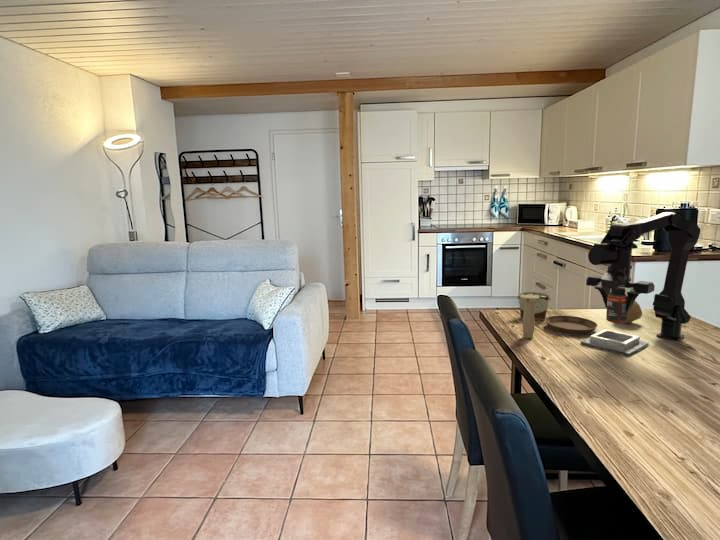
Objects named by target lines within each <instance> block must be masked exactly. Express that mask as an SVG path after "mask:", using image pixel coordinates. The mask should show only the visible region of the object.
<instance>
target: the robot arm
mask: <svg viewBox="0 0 720 540" xmlns="http://www.w3.org/2000/svg"><path fill="white" fill-rule="evenodd" d="M660 229H662V230H663V231H664V232H666V233H667V241H668V244H669V247H670V248H671V249H670V252H669V253H670V255H669V260H668V264H667V267H666V268H667V269H666V273H665V279H664V280H665V281H664V284H663V289H662V291H660V292H659V293H655V294H654V296H653V303H652V306H653V311H654V314H655V318H656V319H657V318H659V319H661V325H660V332H659V333H657V334H656V337H658V338H663V339H668V340H672V341H676V342H677V341H680V340H682V339H683V338H685V335H683V334H682V325H683V324H685V325H687V323H690V321H691V316H692V315H690V314H689V312H688V311H687V310H686V309H685V304H686V302H685V298H684V297H683V296H684V295H683V294H682V290H683V284H684V279H685V274H686V269H687V265H688V259H689V253H690V250H692V248H694V247H695V246H696V244H697V243H698V241H699V238H700V236H701V228H700V227H699V225H698V224H697V223H694V222H693V221H692V220H689V219H687V218H684V217H683V216H681V215H680V214H679V213H676V212H672V211H671V212H670V211H669V212H668V211H665V212H664V211H663V212H661V213H659V214H656V215H655V214H654V215H652V216H650V217H646V218H644V219H640V220H637V221H634V222H633V221H632V222H618V223H613V224H612V225H610V228H609V230H608V231H607V232H606V234H605V236H604V237H603V239H602V240H601V241H600V243H599V242H598V243H594V244H593V247H592V248H591V249H590V250H589V252H588V253H587V258H588V261H589V263H590V264H591V265H593V266H600V265H608V266H607V271H606V272H605V273H604V274H603V275H597V274H593V275H591V276H588V277H587V278H586V281H585V285H586V286H589V287H594V289H595V290H598V292H599V293H600V295H601V298H602V300H603V303H604V307H605V308H606V309H607V298H608V294H610V293H611V289H617V288H618V287H623V288H625V289H630V291H627V292H626V295H627V296H628V298H627V305H626V311H627V312H628V311H629V310H630V308H631V306H632V304H633V303H634V301H636V299H637V298H639V297H638V296H639V295H641V294H644V295H645V294H646V295H647V294H650V293H652V292H654V291H655V284H654V283H653V282H651V281H645V280H640V281H636V282H631V281H632V277H630V276H631V270H632V269H633V265H632V250H635V249H638V245H637V244H635V243H634V241H636V240H639V239H640V238H641V236H642V235H644V234H647V233H650V232H653V231H656V230H660Z"/></svg>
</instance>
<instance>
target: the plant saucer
mask: <svg viewBox="0 0 720 540" xmlns="http://www.w3.org/2000/svg"><path fill="white" fill-rule="evenodd" d="M544 321H545V323H546V325H547V326H548V328H550V329H551V330H552V331H554V332H557V333H560V334H565V335H573V336H583V335H584V336H585V335H588V334H591V333H593V332H594V331H595V330H596V329H597V327H598V324H597V322H596V321H594V320H591V319H588V318H585V317H580V316H573V315H552V316H548V317H547V316H546V318H545V320H544Z"/></svg>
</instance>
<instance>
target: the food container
mask: <svg viewBox="0 0 720 540" xmlns="http://www.w3.org/2000/svg"><path fill="white" fill-rule="evenodd" d="M520 295H535V296H539V297H540V298H539V301H538V302H536V303H535V305H534V316H535V320H542V321H543V320H544V321H545V319H546V318H547V312H548V307H549V301H551V298H550V295H549V294H548V293H547V294H546V293H545V292H537V291H536V292H535V291H524V292H523V291H522V292H520V293H519V294H518V295H517V299H518V303H519V314H520V315H519V316H520V319H523V314H524V302H523V301H521V300H520Z"/></svg>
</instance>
